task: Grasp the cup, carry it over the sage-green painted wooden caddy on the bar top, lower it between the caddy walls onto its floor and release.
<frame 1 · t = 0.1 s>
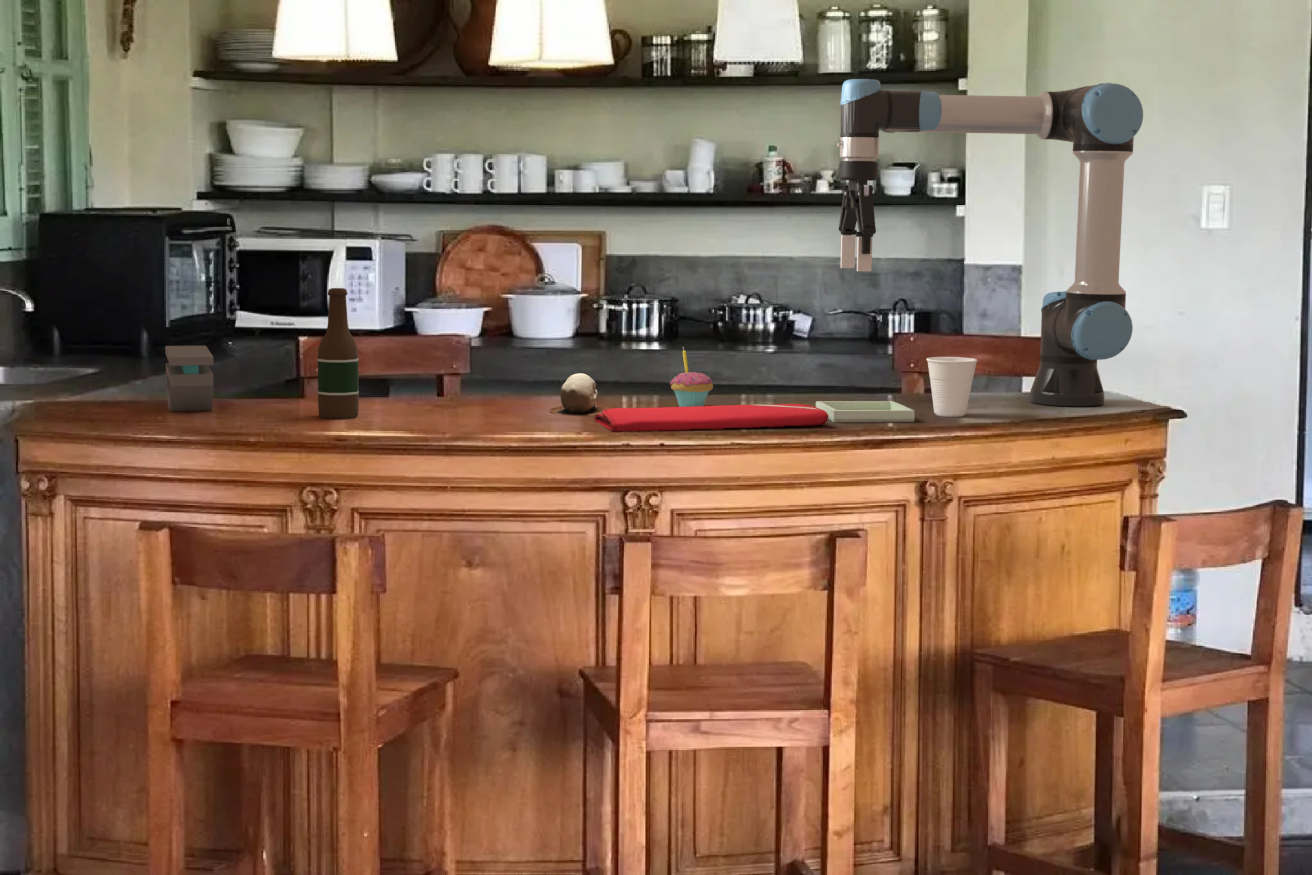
hand: (855, 269, 365), 28 cm above the countertop, fingers open, 13 cm apart
cup: (950, 416, 364), on the countertop
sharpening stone: (189, 408, 361), on the countertop
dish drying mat: (710, 428, 345), on the countertop
cupcake: (691, 408, 372), on the countertop
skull: (580, 413, 362), on the countertop
tray: (863, 417, 359), on the countertop
beer bottle: (338, 417, 349), on the countertop
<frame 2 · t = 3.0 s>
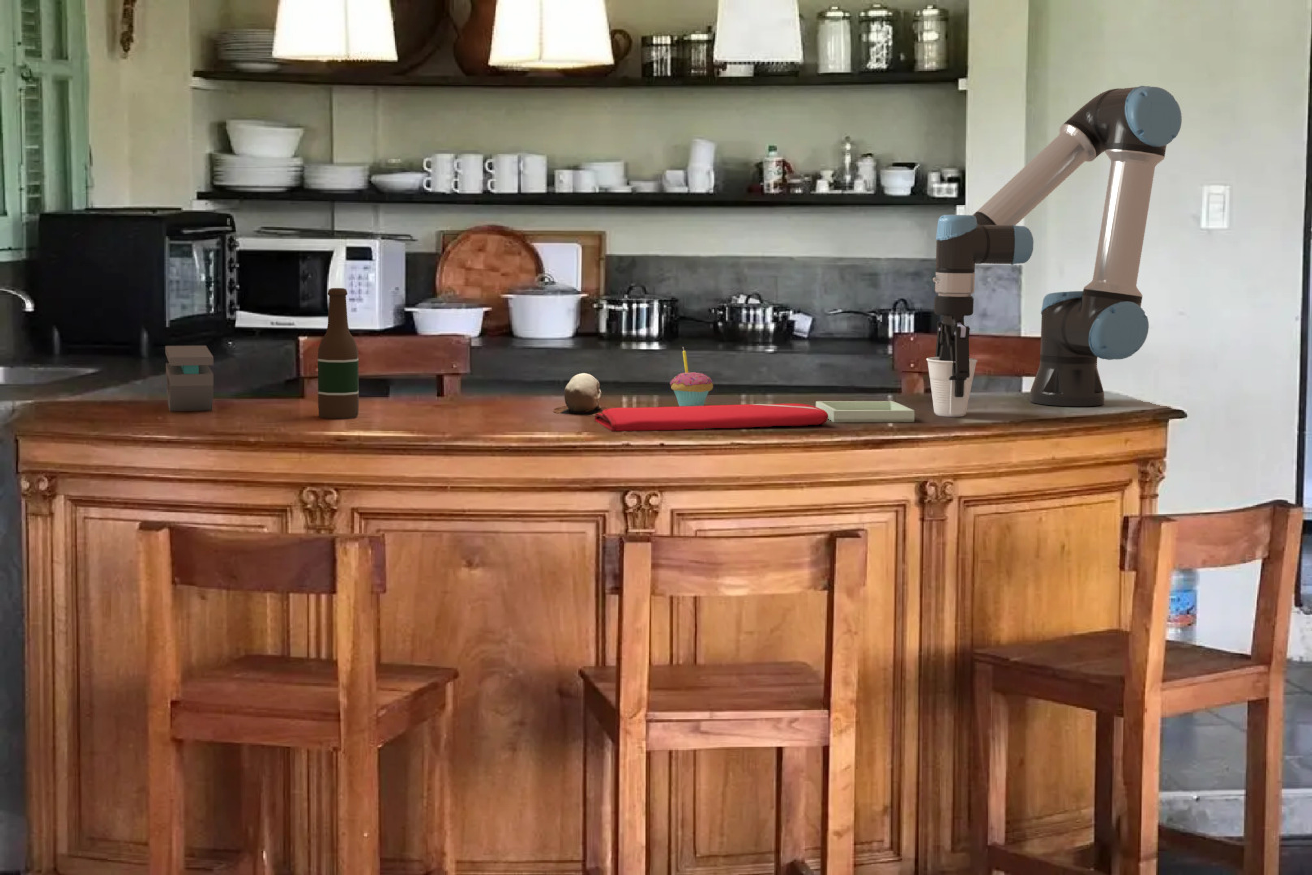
hand: (950, 410, 364), 1 cm above the countertop, fingers closed on cup, 8 cm apart
cup: (950, 416, 364), on the countertop, touching gripper
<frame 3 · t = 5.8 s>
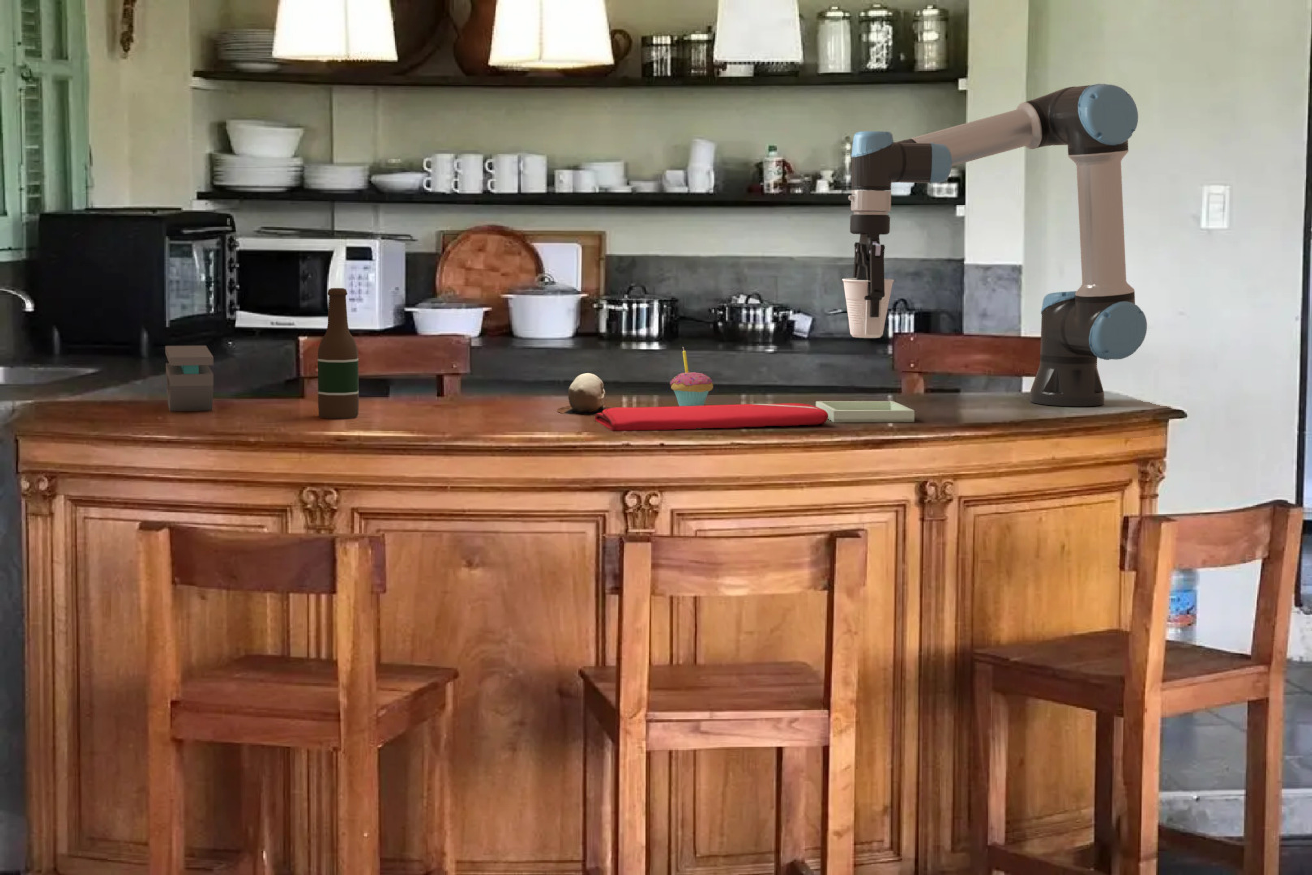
hand: (866, 332, 357), 16 cm above the countertop, fingers closed on cup, 8 cm apart
cup: (866, 337, 357), point 15 cm above the countertop, touching gripper
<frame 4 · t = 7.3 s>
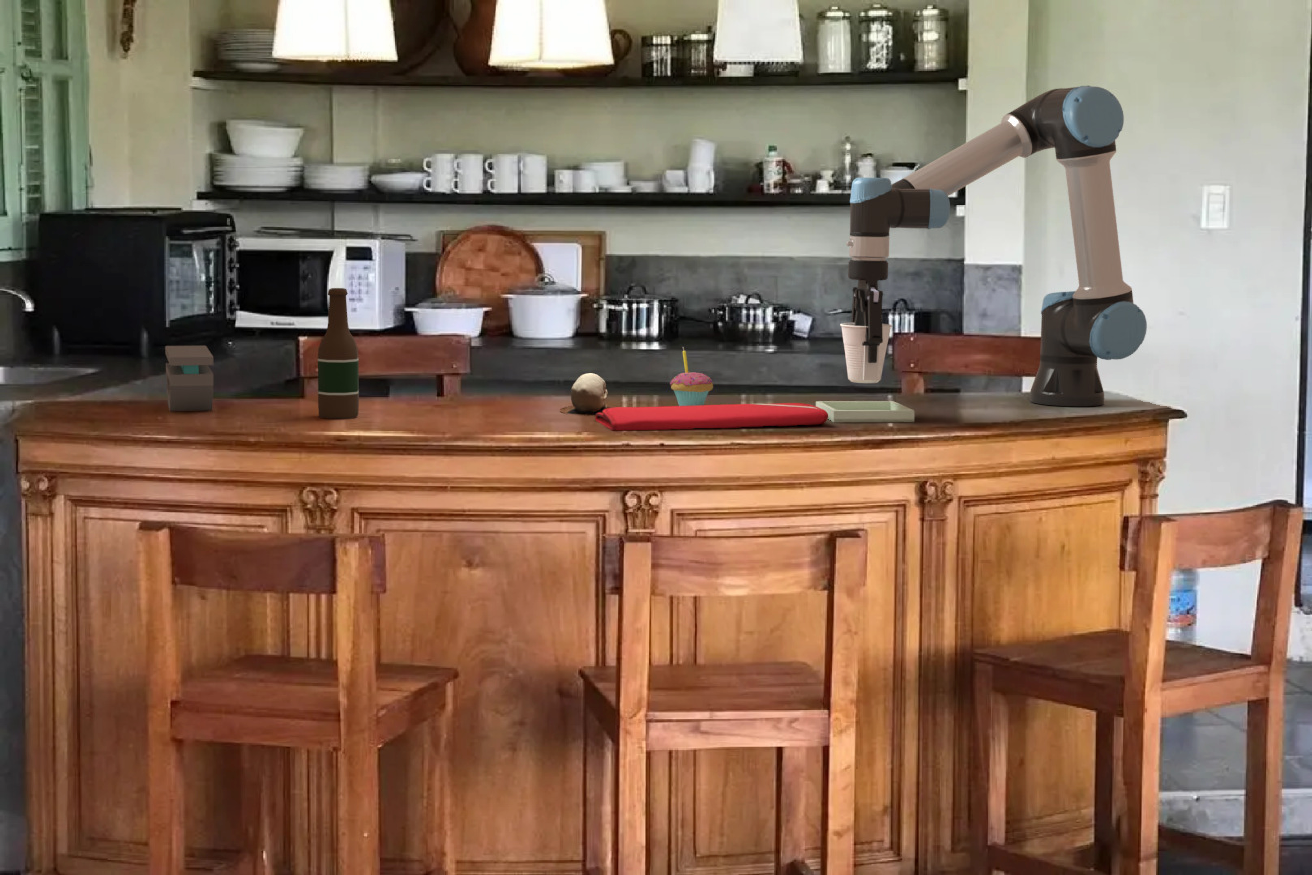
hand: (864, 377, 358), 8 cm above the countertop, fingers closed on cup, 8 cm apart
cup: (864, 382, 358), point 7 cm above the countertop, touching gripper
when the fingers open (4 cm above the countertop, at t = 8.6 s): cup drops 2 cm, resting on tray.
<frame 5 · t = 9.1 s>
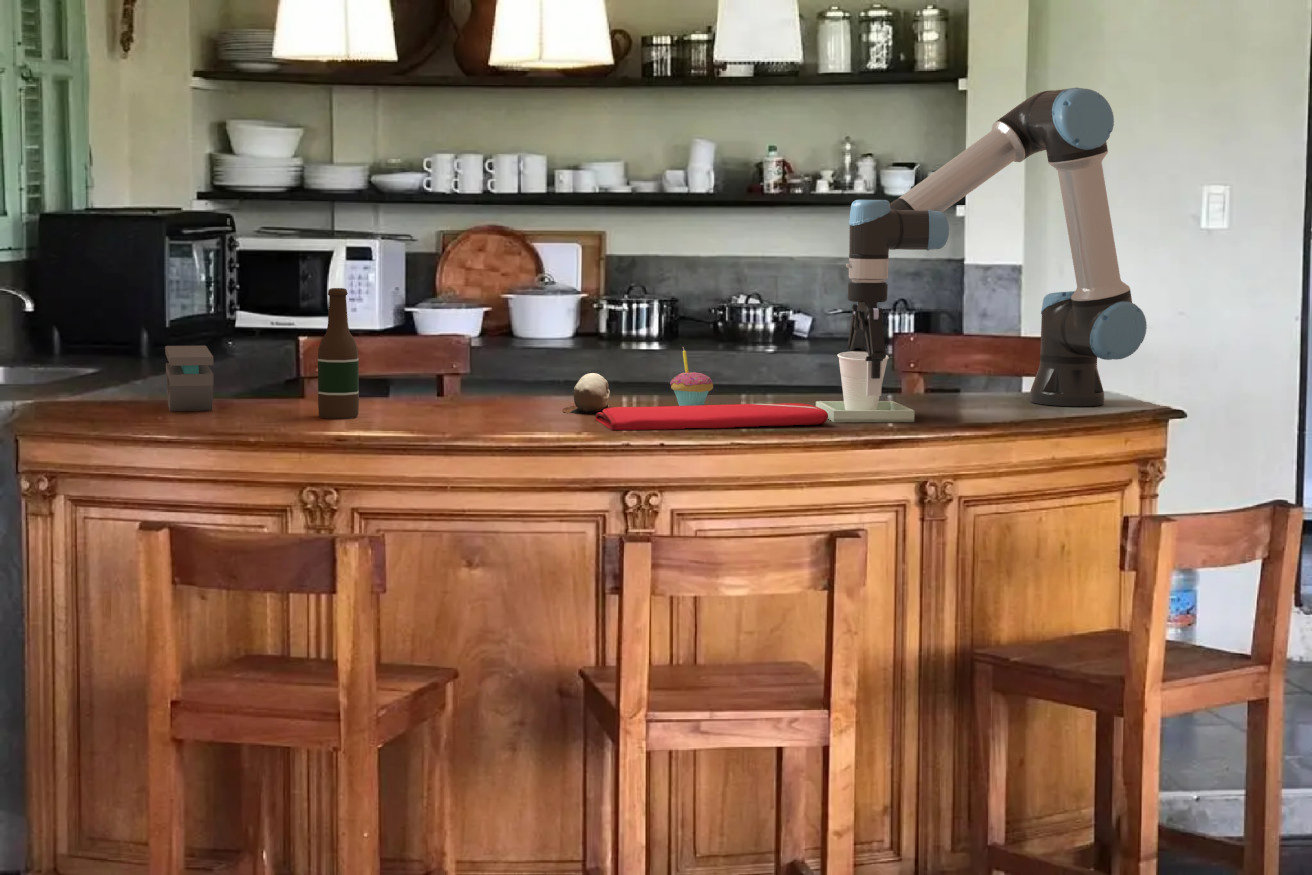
hand: (865, 391, 358), 5 cm above the countertop, fingers open, 13 cm apart
cup: (860, 412, 361), point 1 cm above the countertop, touching gripper, tray
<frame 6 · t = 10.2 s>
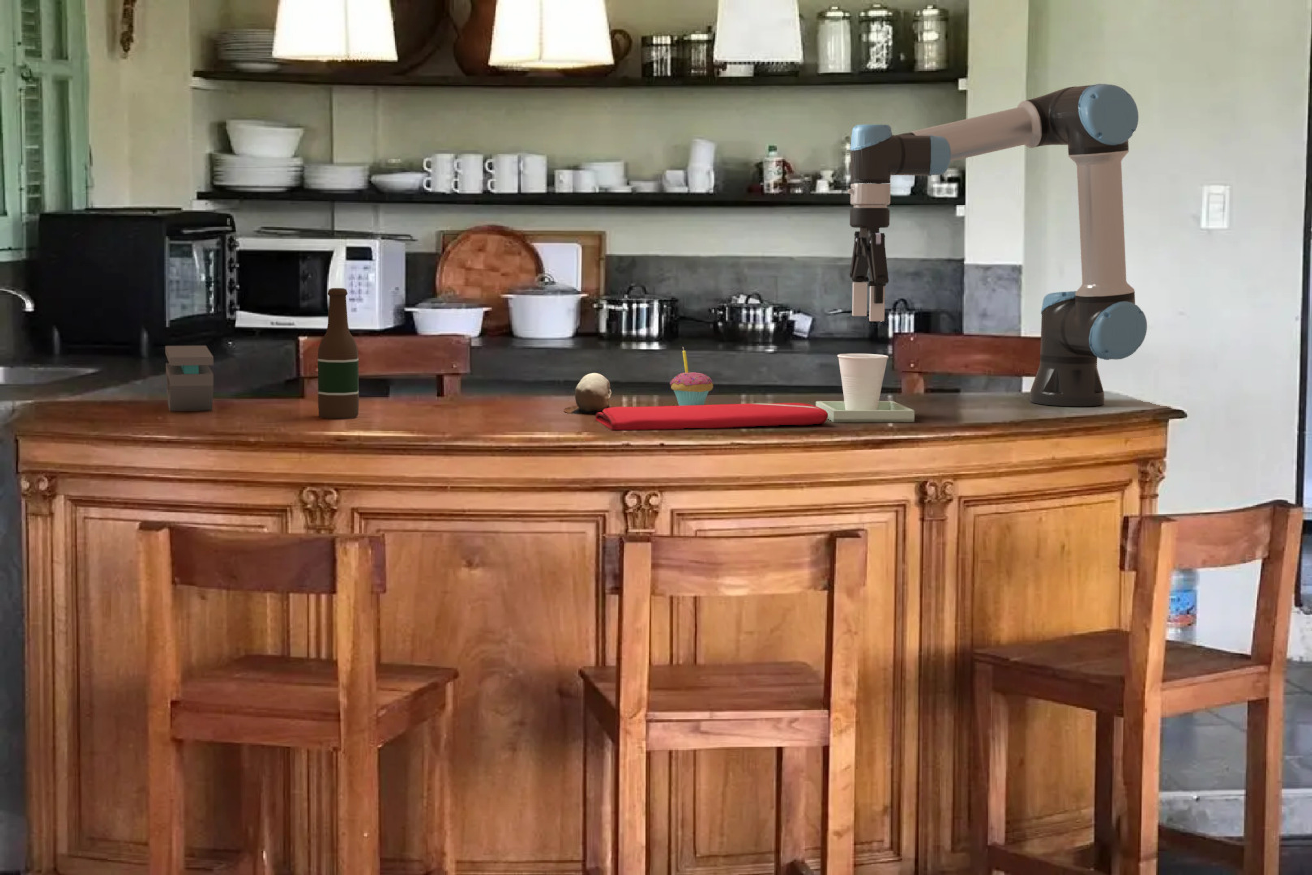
hand: (867, 318, 357), 19 cm above the countertop, fingers open, 13 cm apart
cup: (861, 413, 362), resting on tray
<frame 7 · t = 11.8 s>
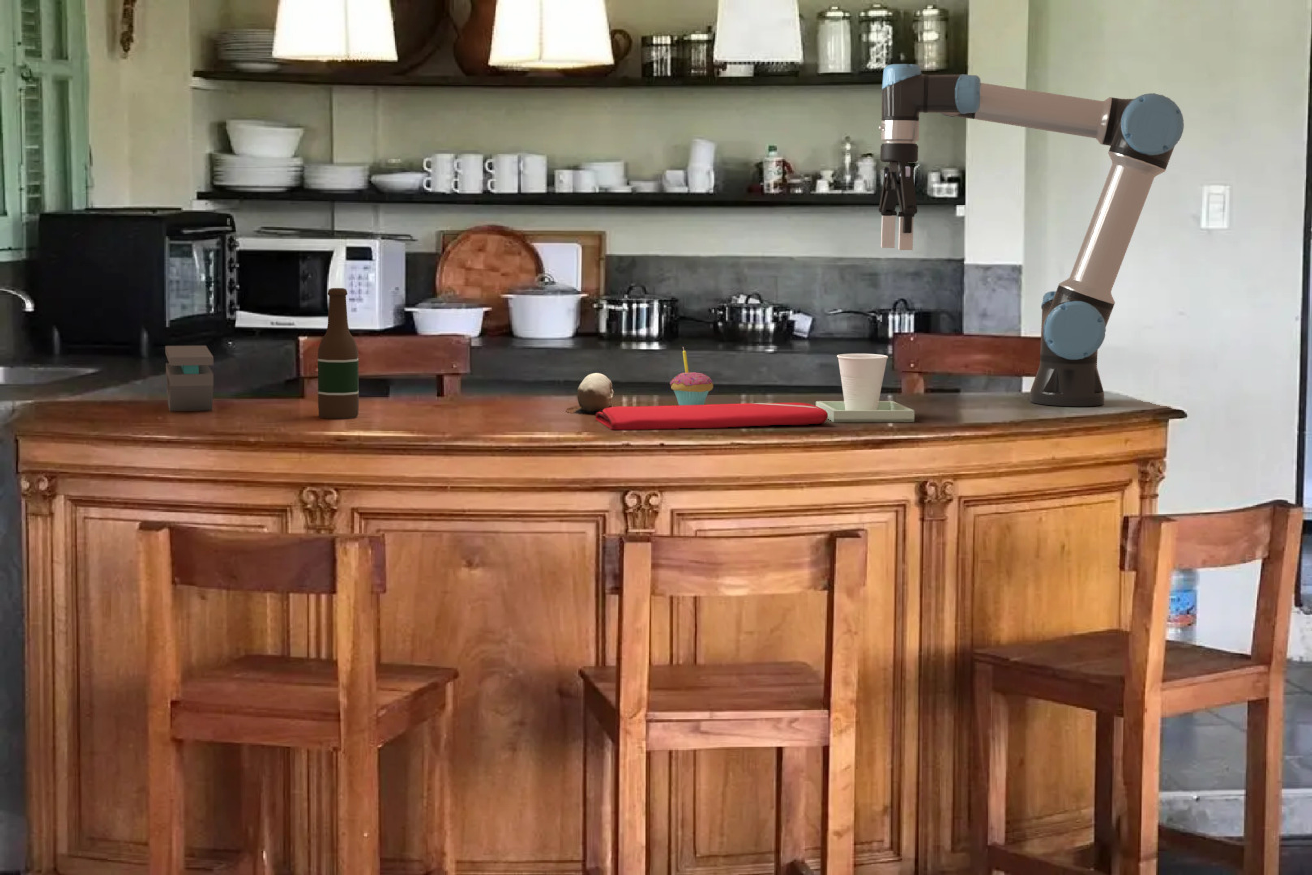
hand: (896, 249, 377), 32 cm above the countertop, fingers open, 13 cm apart
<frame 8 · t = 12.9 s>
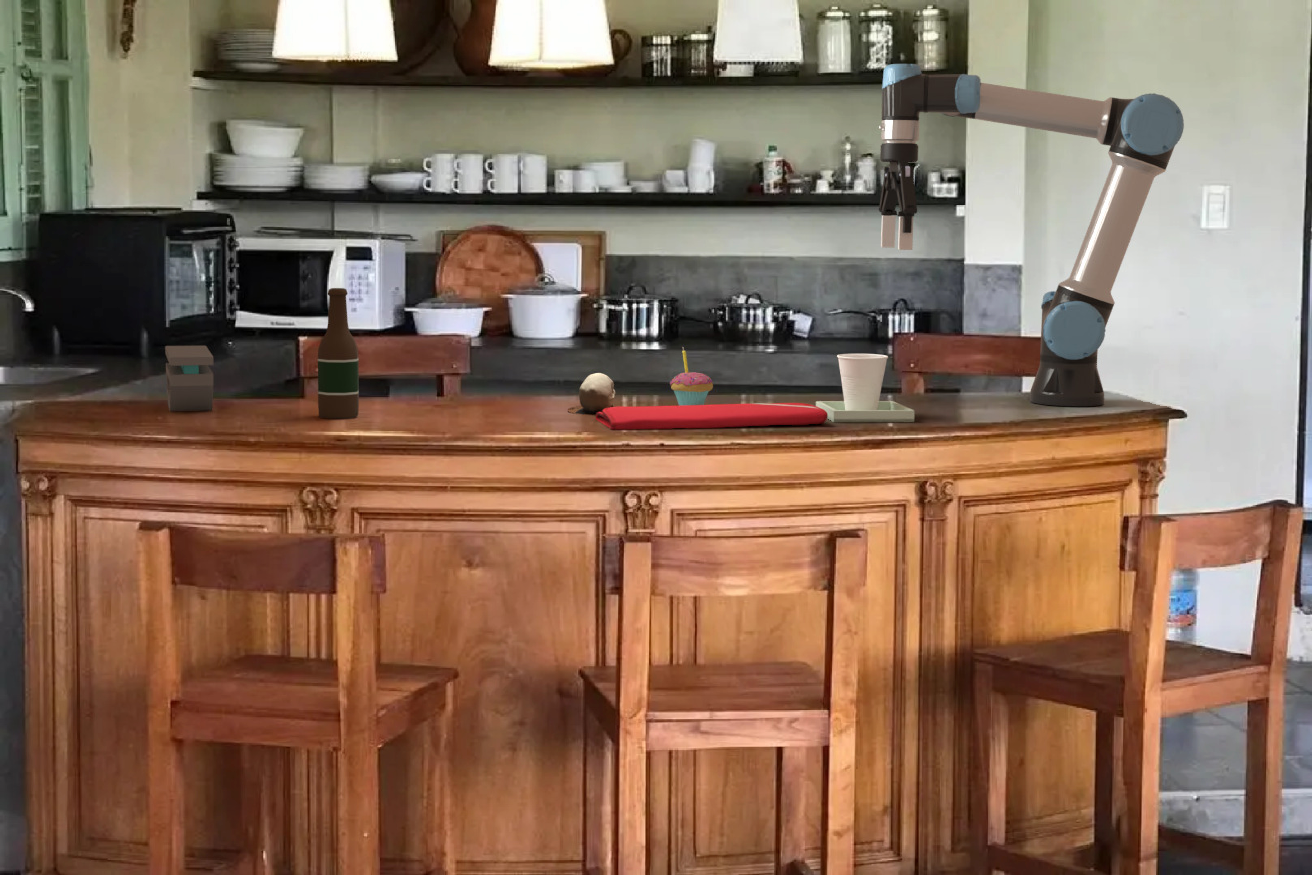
hand: (896, 248, 377), 32 cm above the countertop, fingers open, 13 cm apart
at the end: cup inside the target area on the tray (3.0 cm from its centre), point 0.4 cm above the tray's base; cup tilted 0°; the gripper is holding nothing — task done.
